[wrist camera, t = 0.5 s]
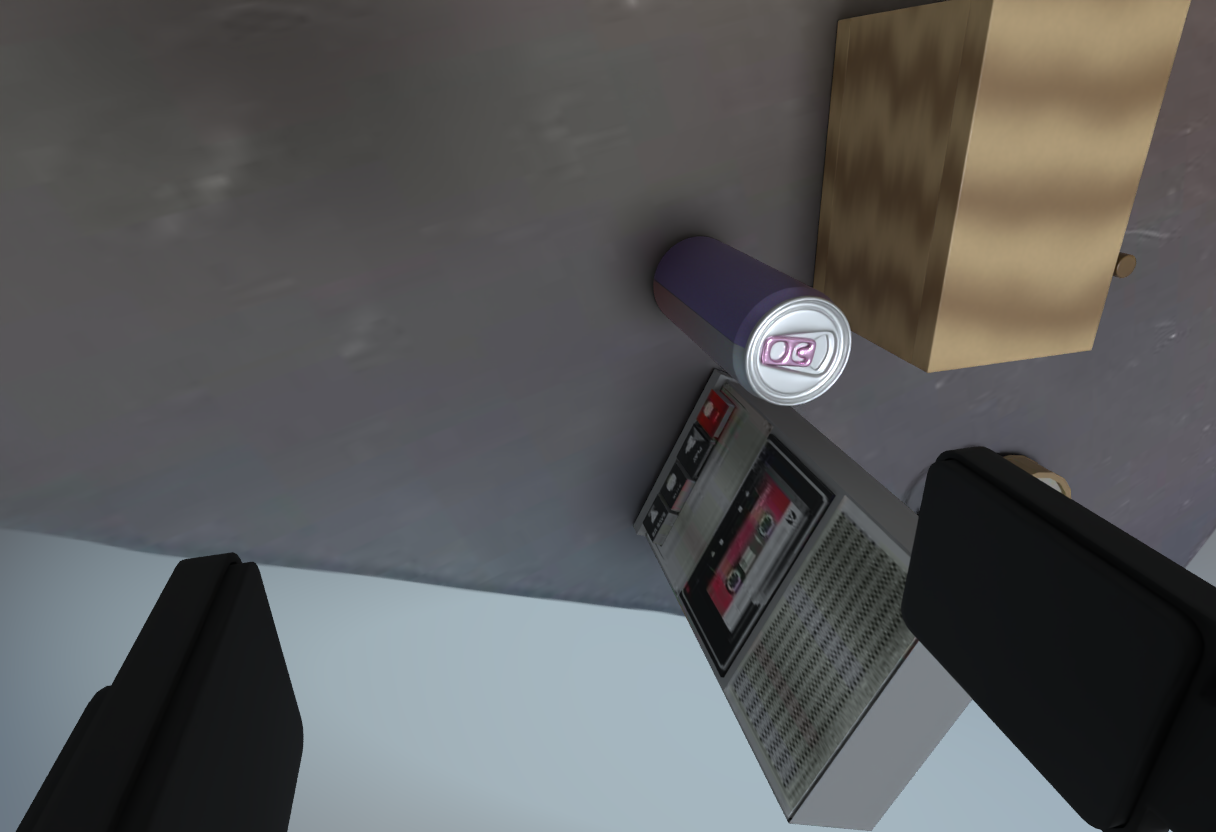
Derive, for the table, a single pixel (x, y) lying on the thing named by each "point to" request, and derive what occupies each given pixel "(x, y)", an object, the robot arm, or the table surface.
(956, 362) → the curio cabinet
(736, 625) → the cassette tape recorder
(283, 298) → the table surface
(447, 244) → the table surface
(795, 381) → the beverage can
